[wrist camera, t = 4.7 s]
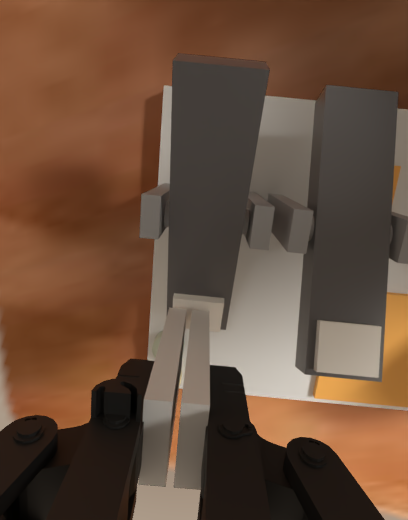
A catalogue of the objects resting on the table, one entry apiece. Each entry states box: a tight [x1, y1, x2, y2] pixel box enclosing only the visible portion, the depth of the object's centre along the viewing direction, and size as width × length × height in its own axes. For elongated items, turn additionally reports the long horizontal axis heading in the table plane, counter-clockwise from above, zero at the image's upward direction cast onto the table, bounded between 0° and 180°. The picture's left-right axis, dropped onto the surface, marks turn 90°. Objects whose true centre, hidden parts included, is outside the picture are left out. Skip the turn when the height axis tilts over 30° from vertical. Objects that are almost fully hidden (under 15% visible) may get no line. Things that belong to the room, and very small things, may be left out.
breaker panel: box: [139, 86, 408, 411], centre depth 18 cm, size 17×18×8 cm
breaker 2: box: [295, 85, 398, 382], centre depth 14 cm, size 11×3×2 cm, turn 176°
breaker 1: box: [164, 53, 270, 332], centre depth 14 cm, size 11×3×2 cm, turn 173°
